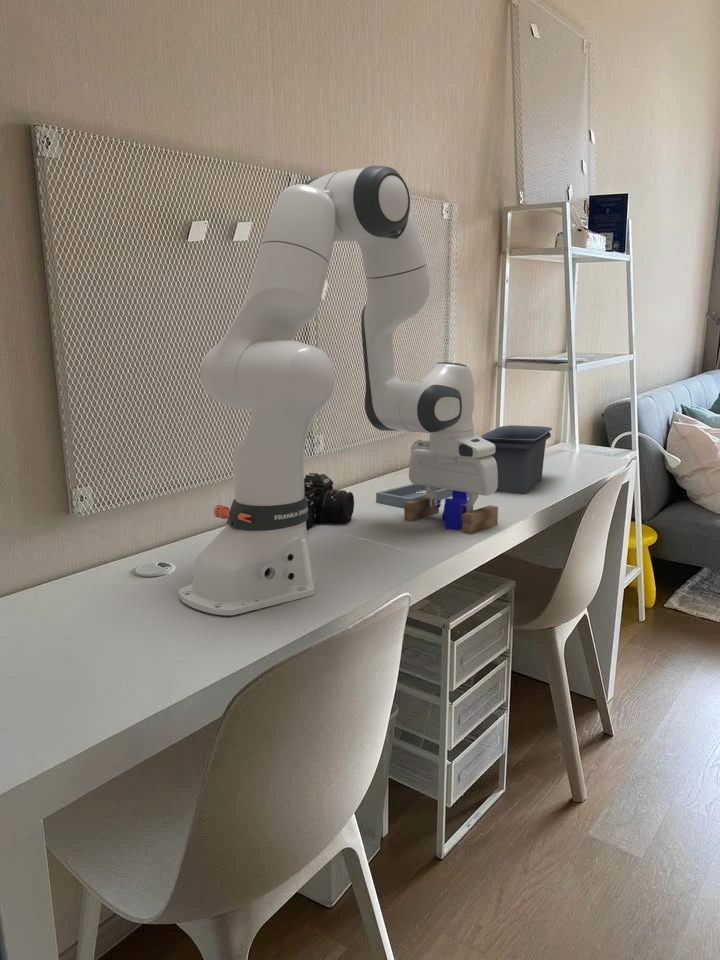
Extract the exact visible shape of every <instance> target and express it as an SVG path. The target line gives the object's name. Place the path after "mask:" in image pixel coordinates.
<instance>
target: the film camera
mask: <svg viewBox="0 0 720 960" xmlns="http://www.w3.org/2000/svg"><path fill="white" fill-rule="evenodd" d="M333 485H334V482H333V480H332V479H331V478H330V477H329V476H328V475H327V474H324V473H321V474H320V473H319V474H318V473H317V472H315V473H314V472H309V473H307V474H305V476H304V495H305V496H306V497H307V505H308V519H307V520H306V528H307V530H308V529H310V528H312V527H314V525H316V524H323V522H326V523H332V524H333V523H336V524H338V523H342V524H344V523H349V522H351V520H352V517H353V513H354V508H355V499H354V498H355V497H354V493H353V492H352V491H348V492H347V491H346V490H343V489H340V490H339V489H334V487H333Z"/></svg>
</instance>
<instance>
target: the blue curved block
mask: <svg viewBox="0 0 720 960" xmlns="http://www.w3.org/2000/svg"><path fill="white" fill-rule="evenodd" d="M468 499H469V498H467V493H466V492H460V491H454V490H453V493H452V498H451V497H448V498H445V499H444V507H443V512H442V513H441V516H442V517H441V521H442V522H444V529H445V530H449V531H450V530H452V531H461V529H462V528H463V513H462V510H463V509H462V505H465V504H466V503H467V501H468Z"/></svg>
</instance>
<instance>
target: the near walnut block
mask: <svg viewBox="0 0 720 960" xmlns="http://www.w3.org/2000/svg"><path fill="white" fill-rule="evenodd" d="M498 518H499V506H495V505H491V504H490V505H486V506H482V507H479V508H477V509H473V511H470V512H466V513H463V525H462V534H467V535H474V534H476V533H479V532H483V531H485V530H488V529H491V528H494V527H496V526H498V523H499V521H498V520H499V519H498Z"/></svg>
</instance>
